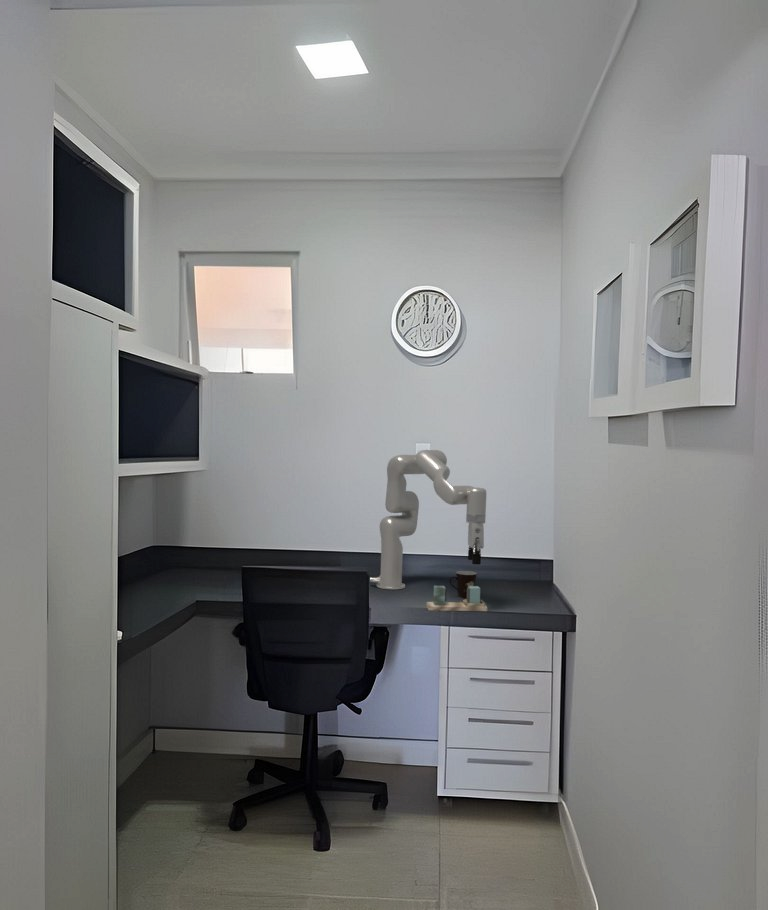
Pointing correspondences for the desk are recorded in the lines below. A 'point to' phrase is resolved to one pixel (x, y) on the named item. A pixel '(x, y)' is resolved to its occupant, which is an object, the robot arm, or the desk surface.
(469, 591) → the pale green block
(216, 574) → the desk surface
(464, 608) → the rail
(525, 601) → the desk surface
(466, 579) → the coffee mug
